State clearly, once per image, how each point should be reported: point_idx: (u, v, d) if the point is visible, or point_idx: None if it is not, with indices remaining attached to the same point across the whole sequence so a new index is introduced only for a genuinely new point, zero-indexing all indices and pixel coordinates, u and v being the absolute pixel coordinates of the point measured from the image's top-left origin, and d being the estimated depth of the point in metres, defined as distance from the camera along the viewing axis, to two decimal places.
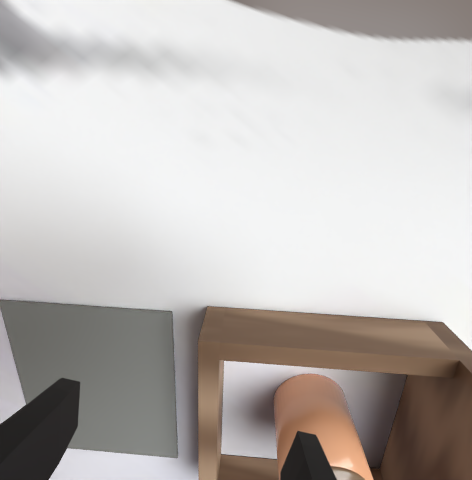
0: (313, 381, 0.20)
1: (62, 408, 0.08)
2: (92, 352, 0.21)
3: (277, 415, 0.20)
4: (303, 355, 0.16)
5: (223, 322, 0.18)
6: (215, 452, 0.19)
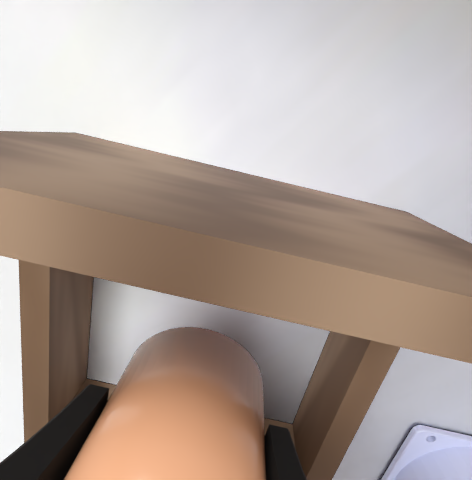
0: None
1: (93, 415, 0.08)
2: None
3: None
4: (31, 357, 0.13)
5: None
6: None
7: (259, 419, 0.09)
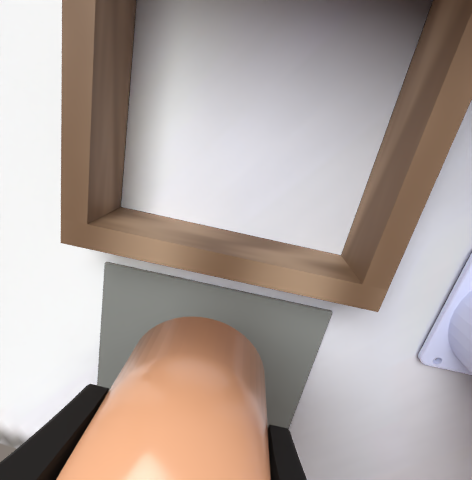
0: None
1: (93, 415, 0.08)
2: None
3: None
4: (72, 111, 0.12)
5: None
6: (247, 261, 0.13)
7: (262, 405, 0.09)
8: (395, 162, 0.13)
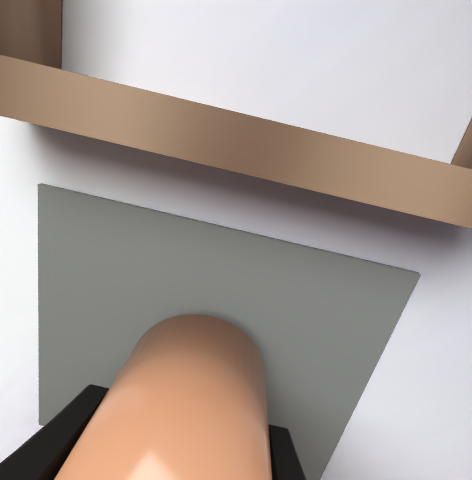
0: None
1: None
2: (127, 342, 0.12)
3: None
4: None
5: None
6: (305, 133, 0.06)
7: (263, 401, 0.09)
8: None
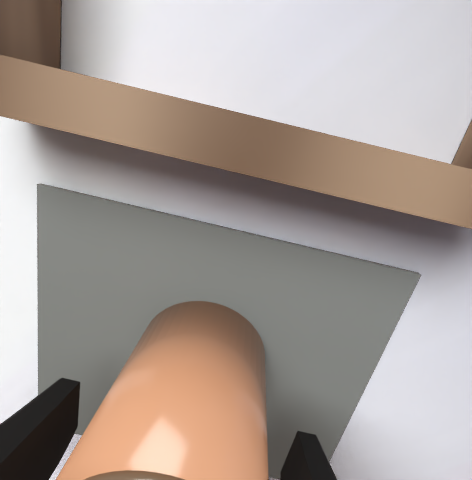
0: None
1: (62, 408, 0.08)
2: (126, 342, 0.12)
3: None
4: None
5: None
6: (305, 133, 0.06)
7: (261, 380, 0.10)
8: None
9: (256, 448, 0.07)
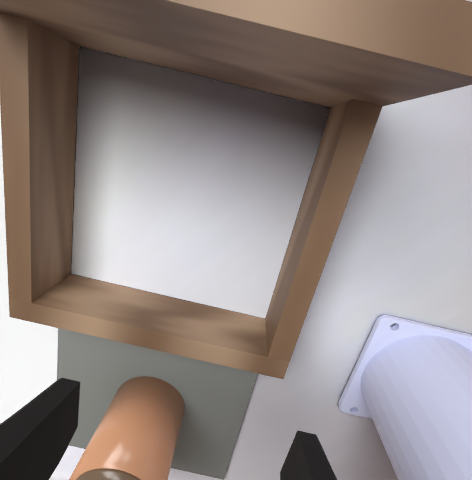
0: None
1: (62, 408, 0.08)
2: (107, 396, 0.22)
3: None
4: (14, 216, 0.14)
5: None
6: (169, 336, 0.16)
7: (174, 423, 0.19)
8: (293, 256, 0.15)
9: (160, 458, 0.17)
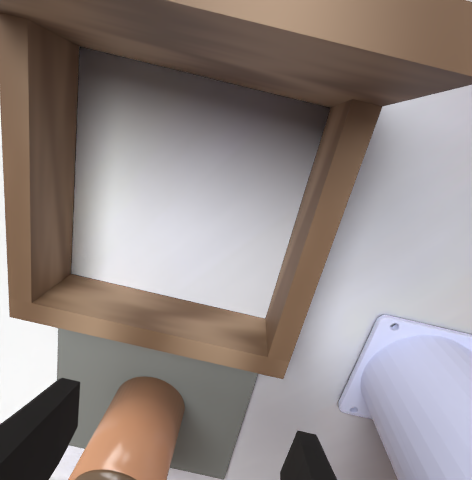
0: None
1: (62, 408, 0.08)
2: (107, 396, 0.22)
3: None
4: (14, 216, 0.14)
5: None
6: (169, 336, 0.16)
7: (173, 424, 0.19)
8: (293, 256, 0.15)
9: (158, 460, 0.17)
